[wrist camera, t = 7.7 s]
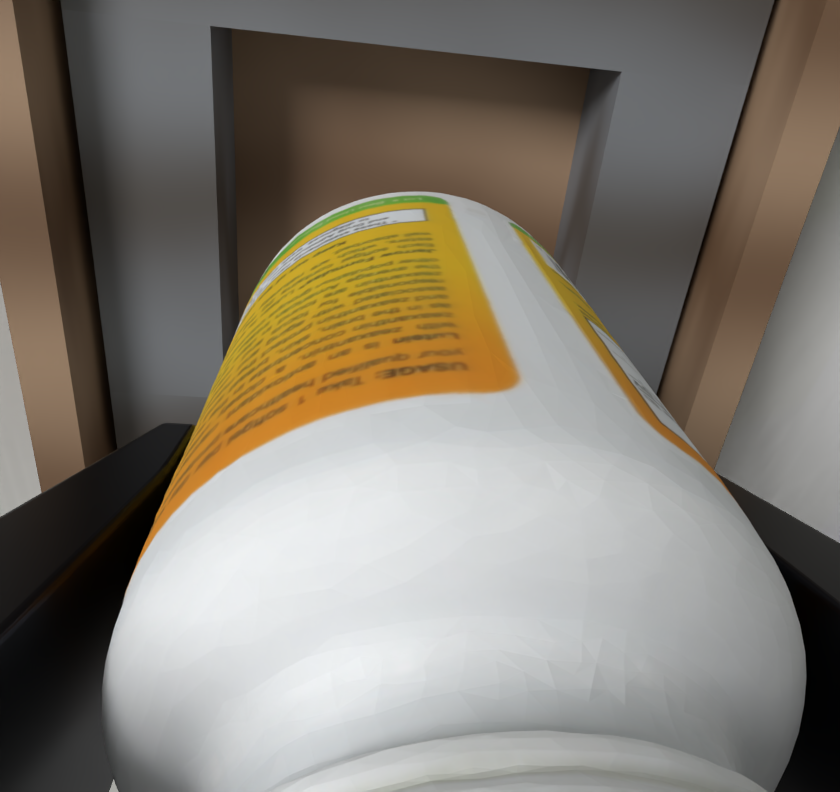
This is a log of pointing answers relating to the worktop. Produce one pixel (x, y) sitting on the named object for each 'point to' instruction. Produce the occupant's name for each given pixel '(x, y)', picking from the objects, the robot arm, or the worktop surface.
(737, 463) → the worktop surface
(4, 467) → the worktop surface
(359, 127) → the tray
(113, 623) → the robot arm
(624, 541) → the supplement bottle
